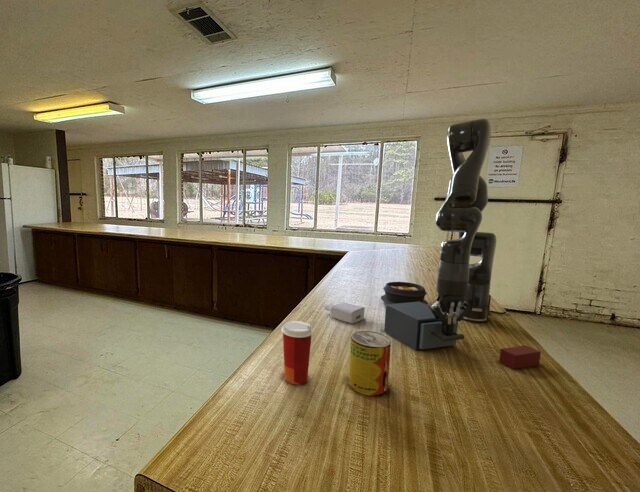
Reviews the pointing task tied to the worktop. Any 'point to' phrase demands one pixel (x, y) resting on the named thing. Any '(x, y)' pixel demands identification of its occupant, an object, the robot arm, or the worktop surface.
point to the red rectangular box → (519, 357)
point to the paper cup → (296, 351)
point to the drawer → (436, 335)
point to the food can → (369, 363)
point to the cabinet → (407, 321)
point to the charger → (346, 312)
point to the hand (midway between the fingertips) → (447, 335)
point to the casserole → (403, 293)
